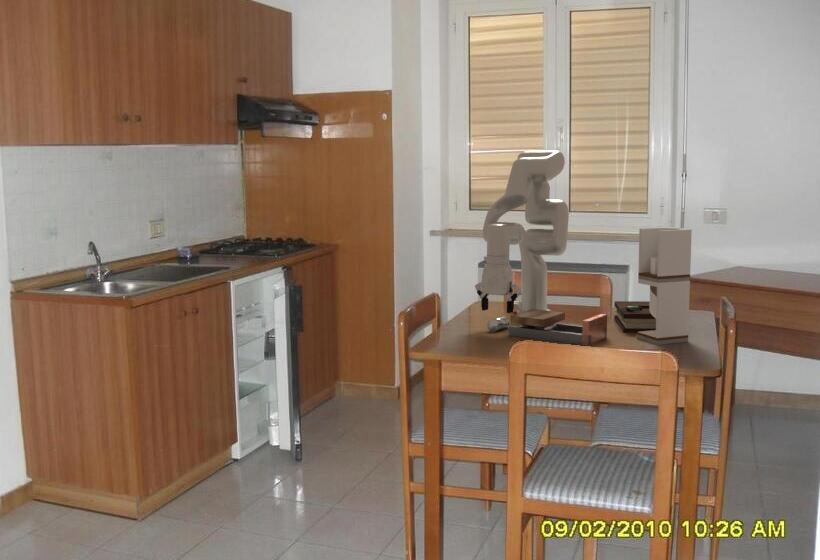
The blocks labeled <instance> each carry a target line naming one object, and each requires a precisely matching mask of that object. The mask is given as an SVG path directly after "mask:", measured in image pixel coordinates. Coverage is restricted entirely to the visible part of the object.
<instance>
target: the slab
mask: <svg viewBox="0 0 820 560" xmlns="http://www.w3.org/2000/svg"><path fill="white" fill-rule="evenodd" d="M564 320H566V312H565V311H554V310H551V311H546V310H536V309H531V310H528V311H525V312H522V313H518V314H517V313H516V314H511V315H510V324H516V325H520V324H523V325H532V326H540V327H545V326H548V325H551V324H553V323H560V322H562V321H564Z"/></svg>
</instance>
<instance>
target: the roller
mask: <svg viewBox="0 0 820 560" xmlns="http://www.w3.org/2000/svg"><path fill="white" fill-rule="evenodd" d="M510 324H511V321H510V319H509V318H508V317H507V316H501V317H497V318H494V319H490V320H489V321H488V322H487V325H486V326H487V327H486V328H487V330H488V331H490V332H493V333H494V332H495V333H496V332H497V331H500V330H504V329H508V328H509V326H510Z"/></svg>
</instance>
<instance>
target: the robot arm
mask: <svg viewBox="0 0 820 560" xmlns="http://www.w3.org/2000/svg"><path fill="white" fill-rule="evenodd" d="M565 164H566V162H565V157H564V154H563V153H562V152H561V150H554V149H553V150H551V149H549V150H527V151H526V150H524V151H522V152H520V153H518V155H517V159H516V160H514V161H513V163H512V165H511V169H510V173H509V177H508V180H507V184H506V188H505V192H504V194H503V195H502V196H501V197H500V198H498V199H497V200H496V201H495V202H494V203H493V204H492V205H491V207H490V208H489V209H488V211H487V213H486V215H485V219H484V224H483V227H482V237H483V240H484V241H485V242H486V255H485V256H483V260H484V261H486V263H485V264H484V265H483V269H482V275H481V281H480V282H477V284H475V285H474V287H475V290H476V293H477V294H478V296H479V299H481V304H480V307H481V311H483V312H484V311H488V310H489V298H488V296H489V295H492V296H495V295H496V296H505V297H506V299H507V301H506V313H507V314H511V313H513V312H514V309H515V307H517V308H518V309H517V310H516V314H518V313H522V312H525V311H528V310H531V309H536V310H546V311H552V310H551V309H549V308H548V266H547V263H546V261H545V259H544V258H543V256H561V255H563V254H564V253H565V252H566V249H567V244H568V243H567V242H568V231H569V229H568V228H569V219H570V218H569V215H570V214H569V211H570V210H569V207H568V204H567V203H566V202H565V201H564V200H562V199H551V198H550V192H551V191H550V190H551V186H550V184H549V181H552V180H553V179H554V178H556V177H557V176H559V174H561V173H562V171H563V170H564V166H565ZM524 205H525V206H524ZM523 206H524V207H525V210H524V217H525V222H526V223H527V224H529V225H532V226H546V227H547V226H551V227H552V228H551V229H549V228H546V229H545V228H526V229H525V228H524V226H523V225H522V224H521V223H518V222H507V221H504V222H503V221H499V220H500V218H501V217H502V216H503V215H505V214H507V213H509V212H511V211H513V210H515V209H518V208H520V207H523ZM510 245H512V246H513V245H514V246H515V245H518V247H519V253H520V266H521V267H520V269H521V270H520V272H521V274H520V275H521V276H520V277H521V278H520V281H521V282H520V283H521V284H520V286H518V285H517V284H515V283H514V278H513V270H512V266H511V264H510ZM513 292H514V293H513ZM519 296H520V300H519V301H518V300H517V301H516V299H518V297H519Z"/></svg>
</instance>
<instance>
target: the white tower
mask: <svg viewBox="0 0 820 560" xmlns="http://www.w3.org/2000/svg"><path fill="white" fill-rule="evenodd" d="M638 230H639V232H638V233H639V235H638V275H637V276H638V280H637V281H638V283H637V284H641V285H646V286H649V301H650V307H649V310H650V313H651V315H652V316H653V317H654V318H656V330H652V331H641V332H637V333H636V339H639V340H642V341H645V342H648V343H651V344H654V345H657V346H658V345H666V344H676V343H677V344H678V343H686V342H689V327H690V326H689V325H690V320H689V319H690V291H691V289H690V288H691V267H692V266H691V263H692V262H691V259H692V258H691V257H692V234H693V233H692V231H693V230H692V229H690V228H689V229H688V228H683V227H673V226H672V227H667V226H666V227H665V226H664V227H649V228H647V227H645V228H639V229H638Z"/></svg>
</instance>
